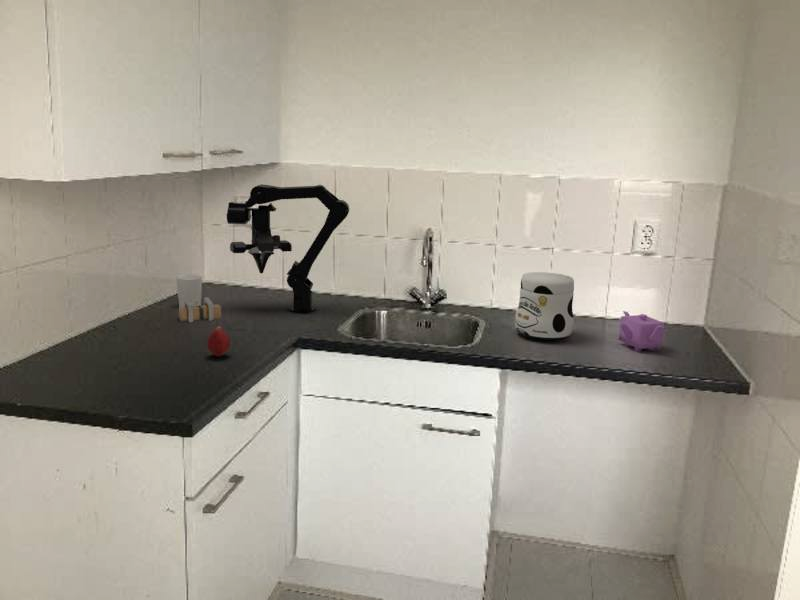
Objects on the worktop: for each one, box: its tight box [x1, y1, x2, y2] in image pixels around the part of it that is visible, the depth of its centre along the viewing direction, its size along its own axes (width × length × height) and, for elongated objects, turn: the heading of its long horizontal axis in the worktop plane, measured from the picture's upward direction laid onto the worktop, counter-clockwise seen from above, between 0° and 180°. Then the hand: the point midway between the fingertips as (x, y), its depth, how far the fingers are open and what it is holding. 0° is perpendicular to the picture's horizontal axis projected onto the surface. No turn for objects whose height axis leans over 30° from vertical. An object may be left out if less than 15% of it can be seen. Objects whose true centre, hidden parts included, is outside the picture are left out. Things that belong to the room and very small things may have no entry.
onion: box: [206, 326, 231, 358], centre depth 184 cm, size 6×6×8 cm
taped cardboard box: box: [178, 303, 222, 322], centre depth 220 cm, size 12×4×4 cm, turn 117°
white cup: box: [175, 273, 203, 308], centre depth 232 cm, size 8×8×10 cm
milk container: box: [514, 271, 575, 341], centre depth 214 cm, size 17×17×18 cm
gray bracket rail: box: [184, 296, 214, 323], centre depth 221 cm, size 7×11×5 cm, turn 25°
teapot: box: [618, 310, 665, 353], centre depth 206 cm, size 18×13×10 cm
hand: (261, 273), depth 231 cm, fingers closed
